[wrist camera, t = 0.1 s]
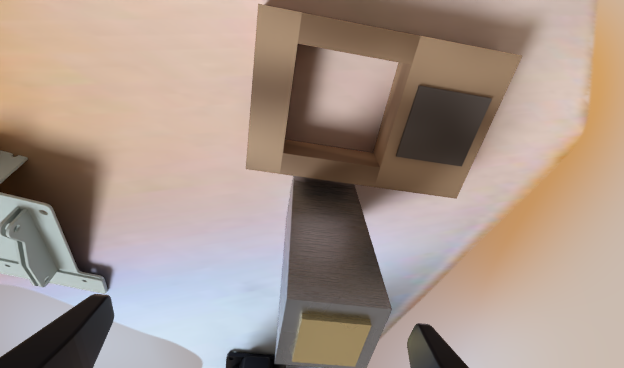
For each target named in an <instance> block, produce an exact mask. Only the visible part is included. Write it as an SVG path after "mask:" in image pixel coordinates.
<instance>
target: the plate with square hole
mask: <svg viewBox="0 0 624 368" xmlns="http://www.w3.org/2000/svg"><path fill="white" fill-rule="evenodd" d="M298 44H303V45H308V46H313V47H319V48H324V49H330V50H335V51H340V52H346V53H351V54H357V55H362V56H367V57H373V58H378V59H384V60H389V61H394V62H399V64H398V67H397V70H396V74H395V77H394V81H393V84H392V88H391V91H390V95H389V98H388V102H387V105H386V109H385V112H384V116H383V119H382V123H381V126H380V130H379V133H378V137H377V140H376V144H375V147H374V151H373V153H372V152H365V151H358V150H352V149H345V148H339V147H332V146H326V145H319V144H312V143H306V142H299V141H293V140H286V139H285V134H286V127H287V119H288V112H289V105H290V97H291V90H292V83H293V75H294V68H295V61H296V53H297V46H298ZM521 58H522V55H517V54H512V53H507V52H502V51H497V50H491V49H486V48H481V47H476V46H471V45H466V44H461V43H456V42H451V41H446V40H441V39H435V38H430V37H425V36H420V35H415V34H410V33H405V32H400V31H395V30H390V29H384V28H379V27H374V26H369V25H364V24H359V23H354V22H349V21H344V20H339V19H333V18H328V17H323V16H318V15H313V14H308V13H303V12H298V11H293V10H288V9H282V8H277V7H272V6H267V5H262V4H258V15H257V29H256V42H255V55H254V68H253V81H252V94H251V107H250V120H249V133H248V146H247V160H246V169H249V170H257V171H264V172H271V173H278V174H285V175H292V176H299V177H306V178H314V179H321V180H328V181H335V182H342V183H349V184H356V185H363V186H371V187H378V188H385V189H392V190H399V191H406V192H413V193H420V194H428V195H435V196H442V197H449V198H457V196H458V194H459V192H460V190H461V187H462V185H463V183H464V181H465V179H466V177H467V174H468V172H469V170H470V168H471V166H472V164H473V161H474V159H475V157H476V155H477V153H478V151H479V149H480V146H481V144H482V142H483V140H484V138H485V136H486V133H487V131H488V129H489V127H490V125H491V123H492V120H493V118H494V116H495V114H496V112H497V110H498V107H499V105H500V103H501V101H502V99H503V97H504V95H505V92H506V90H507V88H508V86H509V84H510V82H511V79H512V77H513V75H514V73H515V71H516V69H517V66H518V64H519V62H520V60H521Z"/></svg>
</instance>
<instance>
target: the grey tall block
mask: <svg viewBox="0 0 624 368" xmlns="http://www.w3.org/2000/svg"><path fill="white" fill-rule="evenodd" d="M391 310H392V308H391V305H390V302H389V298H388V295H387V292H386V288H385V285H384V282H383V278H382V275H381V272H380V268H379V265H378V262H377V258H376V255H375V252H374V248H373V245H372V242H371V238H370V235H369V232H368V228H367V225H366V222H365V219H364V215H363V212H362V209H361V205H360V202H359V199H358V195H357V192H356V189H355V185H354V184H349V183H342V182H335V181H328V180H321V179H314V178H306V177H299V176H293V180H292V186H291V192H290V199H289V205H288V211H287V217H286V229H285V241H284V253H283V266H282V278H281V290H280V302H279V315H278V327H277V339H276V351H275V363H274V364H284V365H297V366H310V367H324V368H367V365H368V363H369V361H370V359H371V356H372V354H373V352H374V349H375V347H376V345H377V342H378V340H379V338H380V336H381V333H382V331H383V329H384V326H385V324H386V322H387V319H388V317H389V315H390V312H391Z"/></svg>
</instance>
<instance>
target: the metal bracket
mask: <svg viewBox="0 0 624 368" xmlns="http://www.w3.org/2000/svg"><path fill="white" fill-rule="evenodd" d="M27 160H28V158H27V157H24V156H20V155H18V156H17V157H13V154H12V153H9V152H5V151H1V150H0V184H1V183H2V182H3V181H4V180H5V179H6V178H8V177H9V176H10V175H11V174H12V173H13V172H14V171H15V170H17V169H18V168H19V167H20V166H21V165H22V164H23V163H24V162H26V161H27ZM42 210H44V211H46V212H47V213H45V212H43V211H42ZM0 274H5V275H10V276H16V277H21V278H26V279H29V280H30V282H31V283H32V285H34V286H38V285H39V286H40V287H45V286H46V285H47V284H48V283H51V284H57V285H62V286H67V287H72V288H77V289H82V290H87V291H93V292H98V293H103V294H105V293H106V292H107V291H108V289H107V285H106V282H105V279H104V277H102V276H100V275H95V274H90V273H85V272H81V271H80V270H78V267H77V265H76V263H75V260H74V258H73V255H72V253H71V251H70V248H69V246H68V244H67V241H66V239H65V236H64V234H63V232H62V229H61V227H60V224H59V222H58V220H57V217H56V215H55V212H54V210H53V208H52V206H50V205H49V204H47V203H43V202H39V201H35V200H30V199H26V198H22V197H18V196H14V195H9V194H5V193H1V192H0Z"/></svg>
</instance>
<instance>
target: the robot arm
mask: <svg viewBox="0 0 624 368" xmlns="http://www.w3.org/2000/svg"><path fill="white" fill-rule="evenodd" d="M113 320H114V311H113V306H112V301H111V297H110V296H109V295H102V294H94V295H91V296H89V297H88V298H86V299H85V300H83V301H82V302H81V303H79V304H78V305H76V306H75V307H73V308H72V309H70V310H69V311H68V312H66V313H65V314H63V315H62V316H60V317H59V318H57V319H56V320H54V321H53V322H51V323H50V324H48V325H47V326H45V327H44V328H42V329H41V330H40V331H38V332H37V333H35V334H34V335H32V336H31V337H29V338H28V339H26V340H25V341H24V342H22V343H20V344H19V345H18V346H16V347H15V348H13V349H12V350H10V351H9V352H7V353H6V354H4V355H3V356H1V357H0V368H93V366H94V364H95V361H96V359H97V357H98V355H99V353H100V350H101V348H102V346H103V344H104V341H105V339H106V337H107V334H108V332H109V330H110V327H111V325H112V323H113ZM407 348H408V354H409V360H410V367H411V368H469V367H468V366H467V365H466V364H465V363H464V362H463V361H462V360H461V358H460V357H459V356H458V355H457V354H456V353H455V352H454V351H453V350H452V348H451V347H450V346H449V345H448V344H447V343H446V342H445V341H444V340H443V338H442V337H441V336H440V335H439V334H438V333H437V332H436V331H435V329H434V328H433V327H432V326H430V325H428V324H420V323H418V324H416V325H415V327H414V328H413V330H412V332H411V335H410V336H409V339H408V342H407ZM274 363H275V356H271V355H258V354H246V353H233V352H230V353H228V354H227V359H226V368H286V365H284V364H274Z"/></svg>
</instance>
